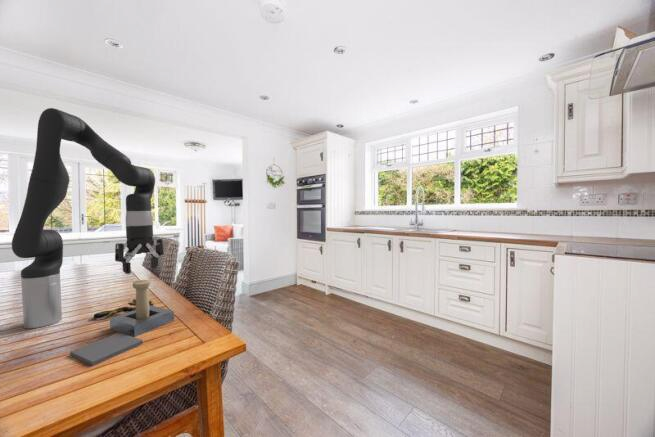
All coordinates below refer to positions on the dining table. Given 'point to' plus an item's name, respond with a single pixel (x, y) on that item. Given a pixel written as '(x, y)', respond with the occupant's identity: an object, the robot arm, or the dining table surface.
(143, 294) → the handle
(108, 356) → the mat
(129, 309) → the toy snake
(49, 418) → the dining table surface
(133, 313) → the holder
